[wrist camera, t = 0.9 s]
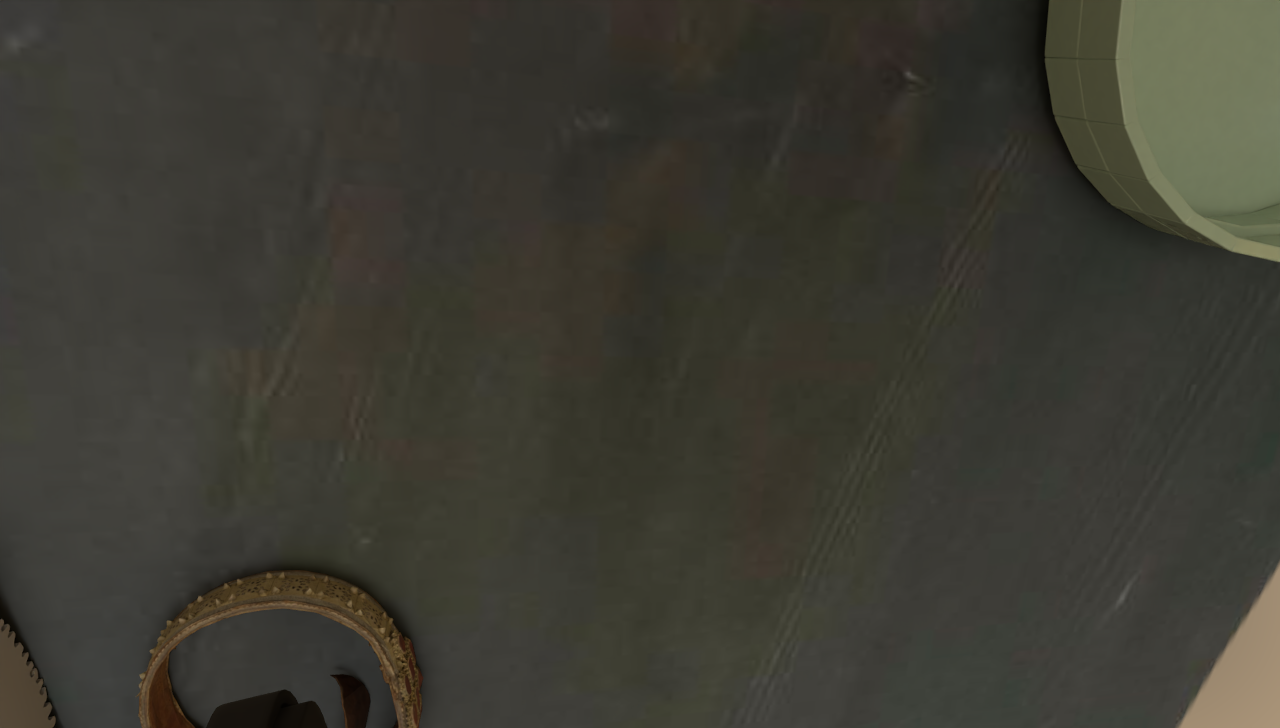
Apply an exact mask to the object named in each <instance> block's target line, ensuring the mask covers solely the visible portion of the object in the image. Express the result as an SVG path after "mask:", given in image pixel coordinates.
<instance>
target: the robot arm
mask: <svg viewBox="0 0 1280 728" xmlns="http://www.w3.org/2000/svg"><path fill="white" fill-rule="evenodd" d="M206 728H327V726H326V723H325V720H324V717H323V715H322V713H321V710H320V708H319V707H318V705H317V704H316V703H315V702H313V701H308V702H304V703H300V704H298V702H297V700H296V698H295V697H294V696H293V694H292V693H291V692H290V691H287V690H281V691H277V692H272V693H268V694H264V695H260V696H256V697H252V698H248V699H243V700H239V701H235V702H231V703H227V704H223V705H221V706H219V707H217V708H216V710H215V711H214V713H213V714H212V716H211V718H210V720H209V723H208V725H207V727H206Z"/></svg>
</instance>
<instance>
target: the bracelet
mask: <svg viewBox="0 0 1280 728" xmlns="http://www.w3.org/2000/svg"><path fill="white" fill-rule="evenodd" d="M280 608H286V609H294V610H301V611H309V612H316V613H318V614H321V615H324V616H326V617H328V618H330V619H333V620H335V621H337V622H339V623H341V624H343V625H345V626H348V627H350V628H352V629H354V630H355V631H356V632H358V633H359V634H360V635H361V636H363V637H364V638H365V639H367V640H368V641H369V647H370V645H371V646H372V648H373V649H374V651H375V652H374V653H376V654H377V656H378V657H379V660H380V662H381V665H380V666H379V667H380V669H381V671H382V673H383V678H384V680H385V682H386V683H387V684H389V685H390V689H391V693H392V698H393V702H394V706H395V710H396V714H397V719H398V721H397V723H396V725H395V727H394V728H418V727H419V720H420V717H421V712H422V698H421V694H420V693H419V690H420V688H421V684H422V680H423V676H422V674H421V672H420V670H419V668H418V667H417V666H416V664H415V663H416V657H415V652H414V648H413V645H412V643H411V640H410V639H408V638H406V637H402V635H401V632H398V630H397V629H396V627H395V625H394V624H393V622H392V621H393V619H392V618H389V616H388V614H387V613H386V611H385V610H384V609H383V608H382V606H381V605H380V604H379V603H378V602H377V601H376V600H375V599H374V598H373V597H371V596H370V595H369V594H367V593H366V592H365V591H363V590H362V589H360V588H359V587H357V586H355V585H353V584H351V583H349V582H347V581H345V580H342V579H339V578H336V577H333V576H330V575H327V574H321V573H316V572H310V571H305V570H285V571H267V572H263V573H259V574H255V575H250V576H247V577H244V578H241V579H237V580H234V581H231V582H228V583H225V584H223V585H221V586H219V587H217V588H215V589H213V590H211V591H209V592H208V593H206V594H204V595H203V596H199V597H198V599H197V600H195V601H193V602H192V603H190V604H188V606H187V607H186V608H185V609H184V610H183V611H182V612H181V613H180V614H179V615H178V616H177V617H176V618H175V619H174V620H173V621H167V629H165V630H162V631H161V636H160V637H159V638H158V639H157V640H158V644H157V646H156V647H155V648H154V649H152V650H150V652H151V654H152V657H151V659H150V662H149V665H148V669H147V671H146V672H144V673H142V674H140V675H139V676H140V677H141V679H142V681H141V682H140V684H139V685H138V686H139V687H140V689H141V690H140V693H139V694H138V695H137V696H139V695H140V696H139V715H138V716H139V717H140V722H141V726H142V728H195V727H194V726H193V725H192V724H191V723H190V722H189V721H188V720H187V719H186V718H185V716H184V714H183V712H182V710H181V709H180V707H179V705H178V703H177V701H176V699H175V698H174V696H173V694H172V687H171V683H170V679H169V675H168V661H169V653H170V651H171V650H172V649H176V648H175V646H176V645H178V644H179V643H180V642H181V641H182V640H183V639H184V638H186V637H187V636H189V635H190V634H192V633H194V632H195V631H197V630H198V629H200V628H203V627H205V626H208V625H210V624H212V623H215V622H217V621H220V620H222V619H225V618H228V617H232V616H235V615H239V614H242V613H247V612H254V611H260V610H266V609H280ZM331 676H332V677H334V678H335V679H336V680H337V682H338V684H339V686H340V689H341V700H342V706H343V710H344V716H345V725H346V728H365V727H366V722H367V717H368V712H369V706H370V697H369V693H368V691H367V690H366V688H365V686H364V685H363V684H362V683H361V682H360V681H358V680H357V679H356V678H354V677H352V676H348V675H344V674H340V675H331ZM137 696H136V697H137Z"/></svg>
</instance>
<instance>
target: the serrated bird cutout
mask: <svg viewBox="0 0 1280 728" xmlns="http://www.w3.org/2000/svg"><path fill="white" fill-rule="evenodd" d="M9 630H10V625H9V624H5V625H4V620H3V619H0V728H53V727H54V725H55V722H56V718H55V716H52V717H48V716H49V714H50V712H51V710H52V706H51V704H50V702H48V703H45V702H46V699H47V693H46V688H45V687H43V688H41V687H42V685H43V679H38V671H37V669H36V668H34V669H32V668H33V666H34V665H33V662H32V661H30V662H27V659H28V656H29V654H28V652H27V653H22V652H23V648H24V647H23V646H22V644H21V643H20V642H19V643H14V640H15V632H14V631H12V632H9Z"/></svg>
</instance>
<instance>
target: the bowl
mask: <svg viewBox="0 0 1280 728" xmlns="http://www.w3.org/2000/svg"><path fill="white" fill-rule="evenodd" d="M1044 55H1045V57H1046V58H1045V66H1046V73H1047V79H1048V85H1049V91H1050V98H1051V104H1052V110H1053V114H1054V116H1055V120H1056V123H1057V125H1058V127H1059V129H1060V131H1061V134H1062V136H1063V138H1064V140H1065V142H1066V145H1067V147H1068V149H1069V151H1070V153H1071V156H1072V158H1073V160H1074V162H1075V164H1076V165H1077V167H1078V169H1079V170H1080V171H1081V172H1082V173H1083V174H1084V175H1085V177H1086V178H1087V179H1088V180H1089V181H1090V182H1091V183H1092V184H1093V186H1094V187H1095V188H1096V189H1097V190H1098V191H1099V192H1100V194H1101V195H1102V196H1103V197H1104V198H1105V199H1106V200H1107V201H1108V202H1109V203H1110V204H1111V205H1112V206H1114V207H1115V208H1117V209H1119V210H1121V211H1122V212H1124V213H1126V214H1127V215H1129V216H1131V217H1133V218H1134V219H1136V220H1138V221H1139V222H1141V223H1143V224H1144V225H1146V226H1148V227H1150V228H1152V229H1155V230H1158V231H1162V232H1165V233H1168V234H1172V235H1175V236H1179V237H1182V238H1186V239H1189V240H1193V241H1196V242H1200V243H1203V244H1207V245H1210V246H1213V247H1217V248H1220V249H1224V250H1227V251H1231V252H1235V253H1240V254H1244V255H1249V256H1253V257H1258V258H1262V259H1267V260H1272V261H1276V262H1280V0H1049V7H1048V19H1047V31H1046V43H1045V54H1044Z"/></svg>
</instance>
